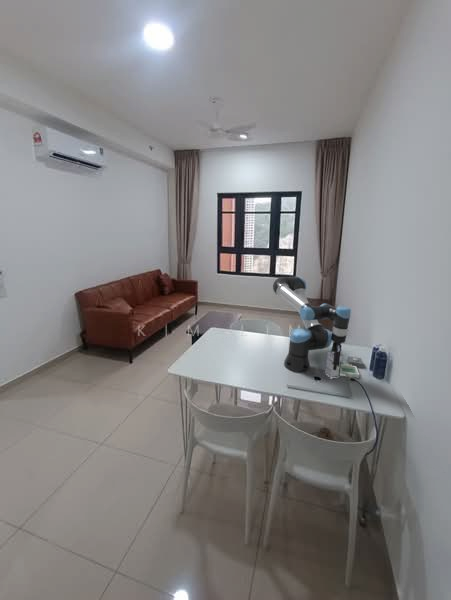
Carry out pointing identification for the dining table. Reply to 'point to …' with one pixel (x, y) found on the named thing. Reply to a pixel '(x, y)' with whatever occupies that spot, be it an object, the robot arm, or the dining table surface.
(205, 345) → the dining table surface
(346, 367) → the white green flat box
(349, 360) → the grey box
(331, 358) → the syrup box
